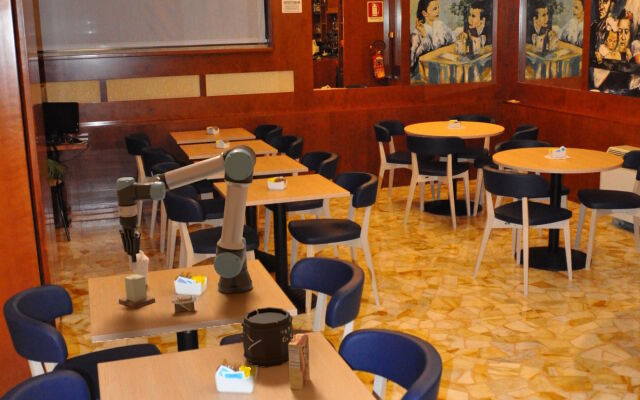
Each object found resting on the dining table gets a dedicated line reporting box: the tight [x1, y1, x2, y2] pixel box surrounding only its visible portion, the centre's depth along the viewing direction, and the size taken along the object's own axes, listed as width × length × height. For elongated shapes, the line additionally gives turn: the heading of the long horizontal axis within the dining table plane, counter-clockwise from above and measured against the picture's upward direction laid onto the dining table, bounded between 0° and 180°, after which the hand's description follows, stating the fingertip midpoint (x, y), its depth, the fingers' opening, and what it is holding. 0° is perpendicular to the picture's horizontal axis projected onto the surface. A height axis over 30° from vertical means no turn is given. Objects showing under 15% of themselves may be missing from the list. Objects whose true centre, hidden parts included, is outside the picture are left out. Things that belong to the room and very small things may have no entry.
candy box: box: [288, 333, 311, 391], centre depth 254 cm, size 9×4×15 cm, turn 163°
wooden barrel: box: [240, 306, 294, 368], centre depth 274 cm, size 18×18×16 cm
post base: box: [118, 295, 156, 309], centre depth 336 cm, size 12×10×8 cm
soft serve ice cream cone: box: [132, 249, 150, 285], centre depth 358 cm, size 8×8×16 cm
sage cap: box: [124, 274, 148, 302], centre depth 336 cm, size 6×6×10 cm
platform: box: [171, 295, 197, 313], centre depth 323 cm, size 12×18×7 cm, turn 106°
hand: (133, 269), depth 334 cm, fingers closed
